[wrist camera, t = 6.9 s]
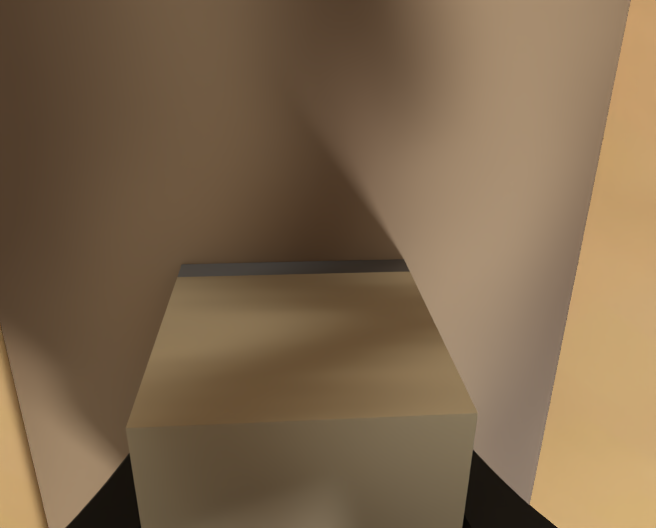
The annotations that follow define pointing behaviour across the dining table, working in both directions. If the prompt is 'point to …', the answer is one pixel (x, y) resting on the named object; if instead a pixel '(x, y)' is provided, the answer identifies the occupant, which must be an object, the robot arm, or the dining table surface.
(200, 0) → the plank
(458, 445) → the block
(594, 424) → the dining table surface
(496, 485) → the robot arm
